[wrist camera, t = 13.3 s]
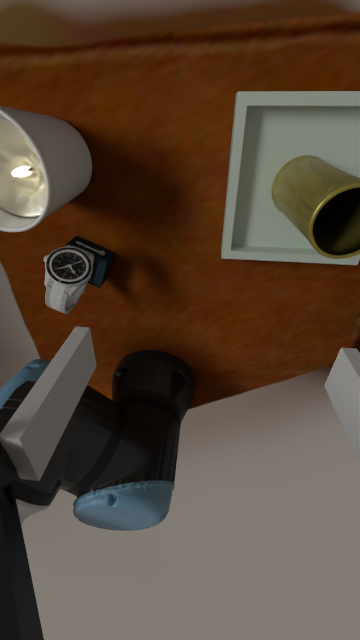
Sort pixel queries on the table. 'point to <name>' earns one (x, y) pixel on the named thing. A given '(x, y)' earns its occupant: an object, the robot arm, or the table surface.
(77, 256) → the watch
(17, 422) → the robot arm
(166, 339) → the table surface
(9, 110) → the candle holder
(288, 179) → the vase
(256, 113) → the tray
